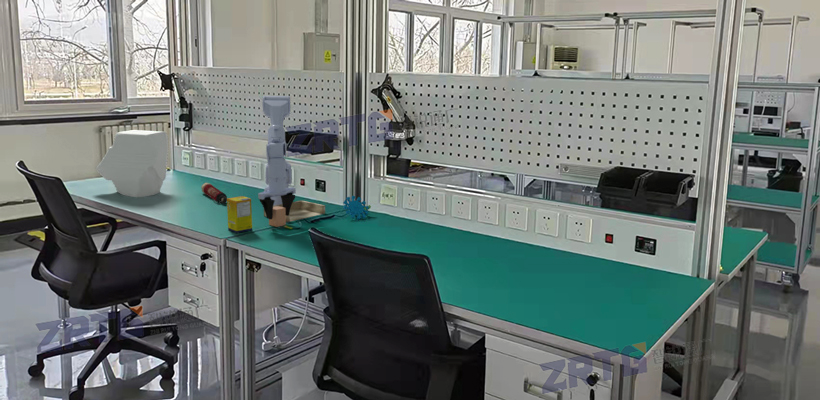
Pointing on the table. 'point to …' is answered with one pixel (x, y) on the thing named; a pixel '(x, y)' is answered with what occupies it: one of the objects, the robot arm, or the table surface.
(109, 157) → the white low-poly rock
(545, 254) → the table surface
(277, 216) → the block
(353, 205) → the gear
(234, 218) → the supplement box
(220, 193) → the red cylinder
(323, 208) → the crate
